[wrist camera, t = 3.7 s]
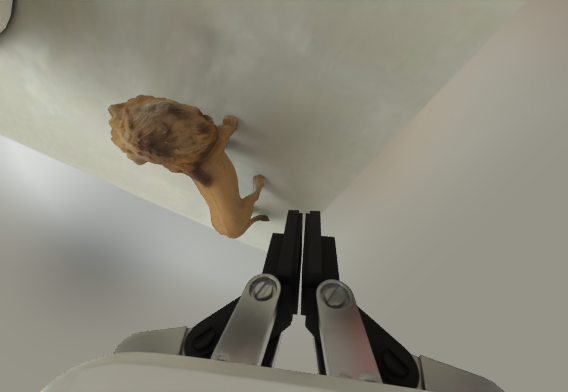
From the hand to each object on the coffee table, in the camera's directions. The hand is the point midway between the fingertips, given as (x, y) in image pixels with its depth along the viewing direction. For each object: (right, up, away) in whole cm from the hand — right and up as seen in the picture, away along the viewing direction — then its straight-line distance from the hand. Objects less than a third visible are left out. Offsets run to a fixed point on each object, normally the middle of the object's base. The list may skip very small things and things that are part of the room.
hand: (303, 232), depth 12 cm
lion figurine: (-6, +6, +10) cm, 13 cm away
